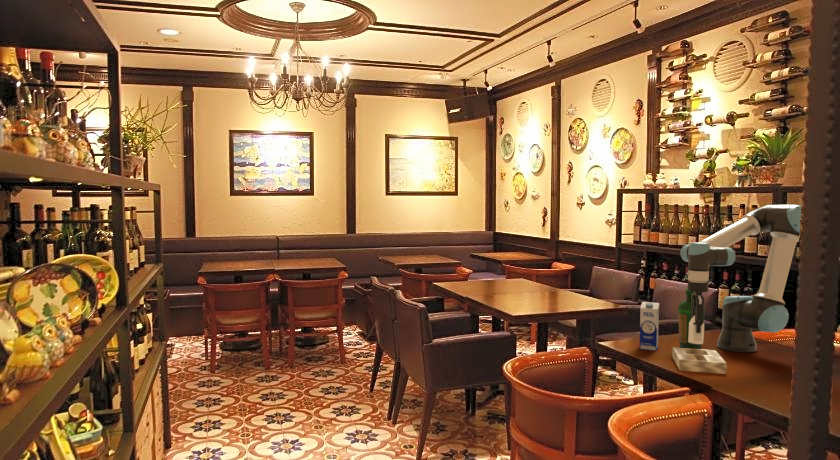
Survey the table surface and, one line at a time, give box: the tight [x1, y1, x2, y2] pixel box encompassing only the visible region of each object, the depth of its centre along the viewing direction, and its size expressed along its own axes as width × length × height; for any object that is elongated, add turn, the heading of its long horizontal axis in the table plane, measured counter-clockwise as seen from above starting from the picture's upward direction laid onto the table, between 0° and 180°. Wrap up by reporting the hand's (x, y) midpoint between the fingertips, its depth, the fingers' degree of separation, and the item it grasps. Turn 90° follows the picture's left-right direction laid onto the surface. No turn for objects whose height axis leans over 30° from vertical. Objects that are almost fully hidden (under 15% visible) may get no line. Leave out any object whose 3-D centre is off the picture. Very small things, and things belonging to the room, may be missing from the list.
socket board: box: [671, 347, 728, 375], centre depth 232 cm, size 16×21×4 cm
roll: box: [688, 315, 705, 345], centre depth 236 cm, size 6×12×6 cm
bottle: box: [677, 287, 706, 349], centre depth 255 cm, size 11×11×28 cm
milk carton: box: [639, 301, 660, 352], centre depth 258 cm, size 7×7×20 cm
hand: (696, 339), depth 236 cm, fingers closed on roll, 6 cm apart
